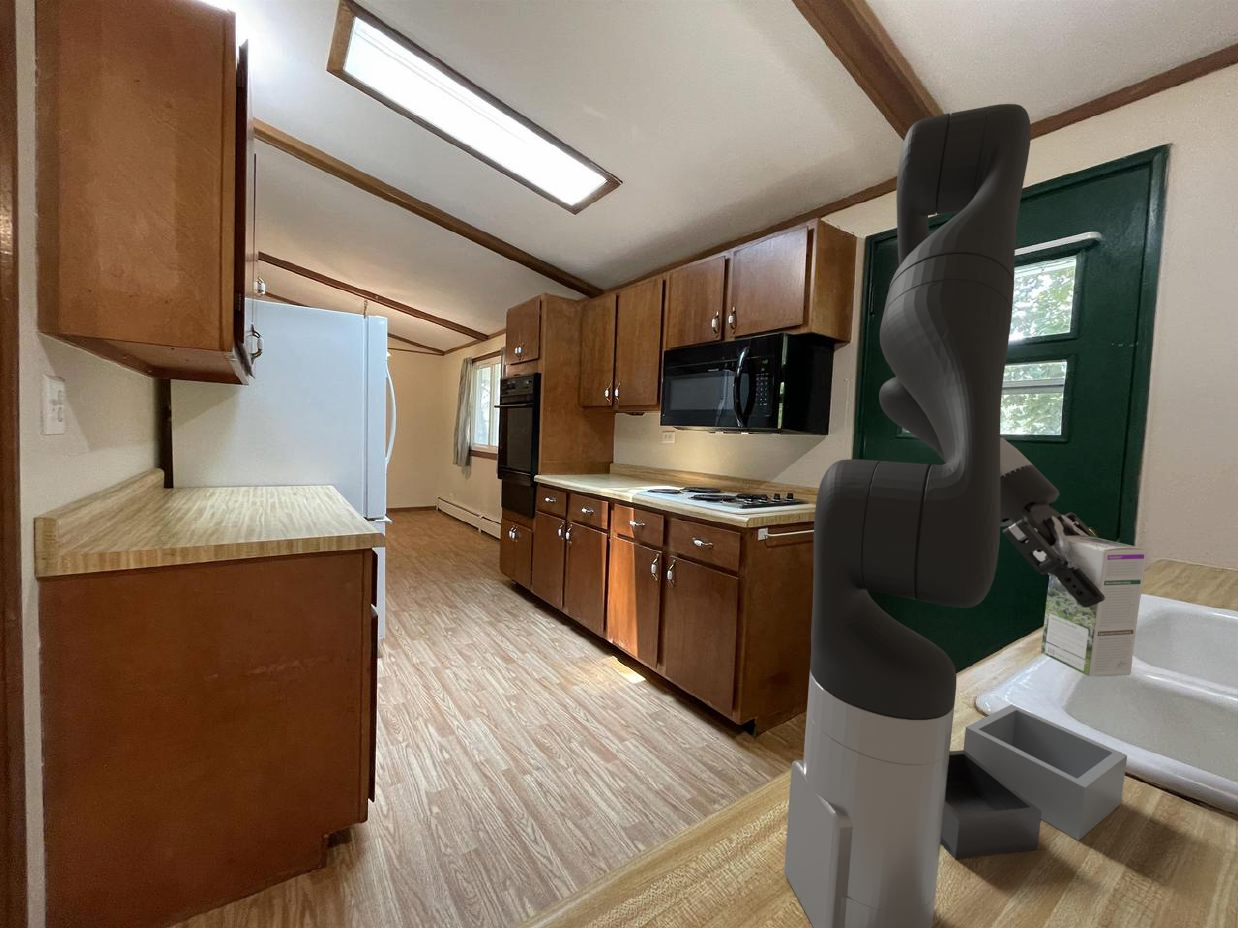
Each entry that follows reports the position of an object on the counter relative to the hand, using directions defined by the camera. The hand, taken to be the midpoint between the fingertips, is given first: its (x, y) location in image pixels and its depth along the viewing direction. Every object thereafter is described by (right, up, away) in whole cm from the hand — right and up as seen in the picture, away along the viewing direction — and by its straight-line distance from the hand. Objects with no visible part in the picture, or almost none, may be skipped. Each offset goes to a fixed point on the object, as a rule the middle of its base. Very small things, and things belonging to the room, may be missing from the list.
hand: (1110, 598), depth 56 cm
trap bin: (-23, -18, -9) cm, 31 cm away
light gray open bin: (-12, -18, -5) cm, 22 cm away
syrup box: (-1, -8, +2) cm, 9 cm away
